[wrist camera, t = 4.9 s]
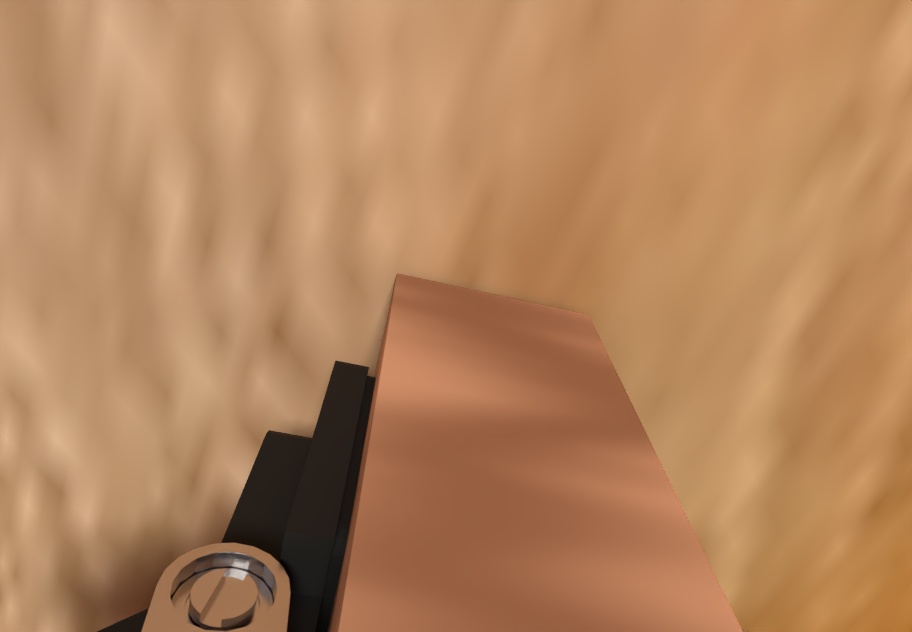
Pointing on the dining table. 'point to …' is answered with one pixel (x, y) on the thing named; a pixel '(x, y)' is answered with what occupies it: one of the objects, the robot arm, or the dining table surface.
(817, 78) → the dining table surface
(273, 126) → the dining table surface
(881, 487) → the dining table surface
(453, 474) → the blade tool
